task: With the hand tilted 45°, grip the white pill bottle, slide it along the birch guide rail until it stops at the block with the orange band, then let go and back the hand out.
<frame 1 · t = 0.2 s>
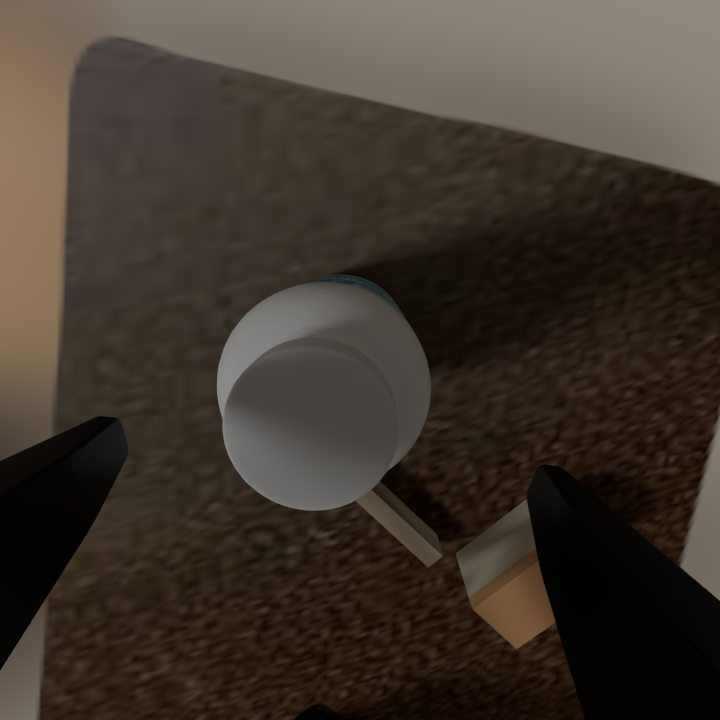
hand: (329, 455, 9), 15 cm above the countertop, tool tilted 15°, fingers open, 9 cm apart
guide rail: (358, 472, 26), on the countertop
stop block: (520, 537, 27), on the countertop
pill bottle: (342, 336, 24), on the countertop
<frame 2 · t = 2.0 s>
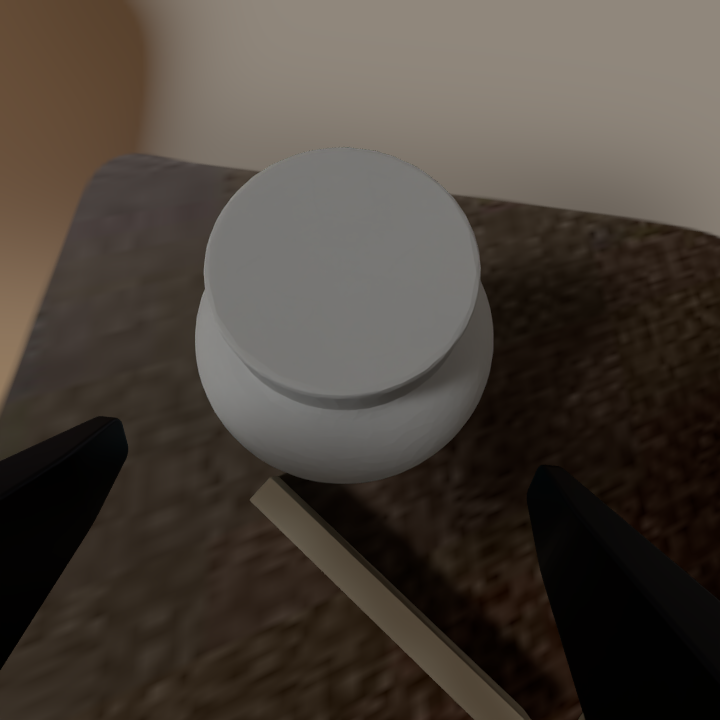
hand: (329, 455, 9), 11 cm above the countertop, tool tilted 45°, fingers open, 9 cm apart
guide rail: (384, 596, 17), on the countertop
pill bottle: (347, 398, 20), on the countertop
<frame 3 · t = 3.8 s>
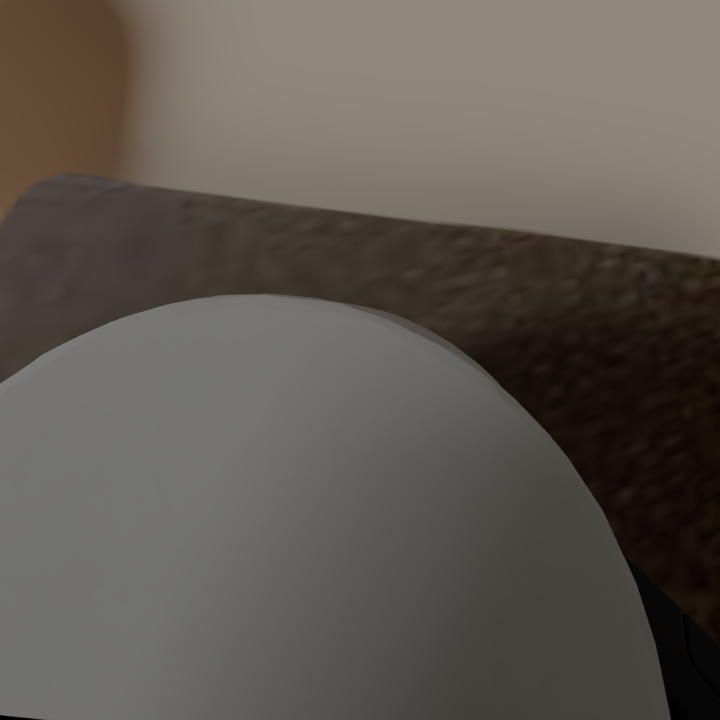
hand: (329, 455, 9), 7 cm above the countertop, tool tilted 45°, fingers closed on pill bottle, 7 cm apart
pill bottle: (334, 497, 15), on the countertop, touching gripper
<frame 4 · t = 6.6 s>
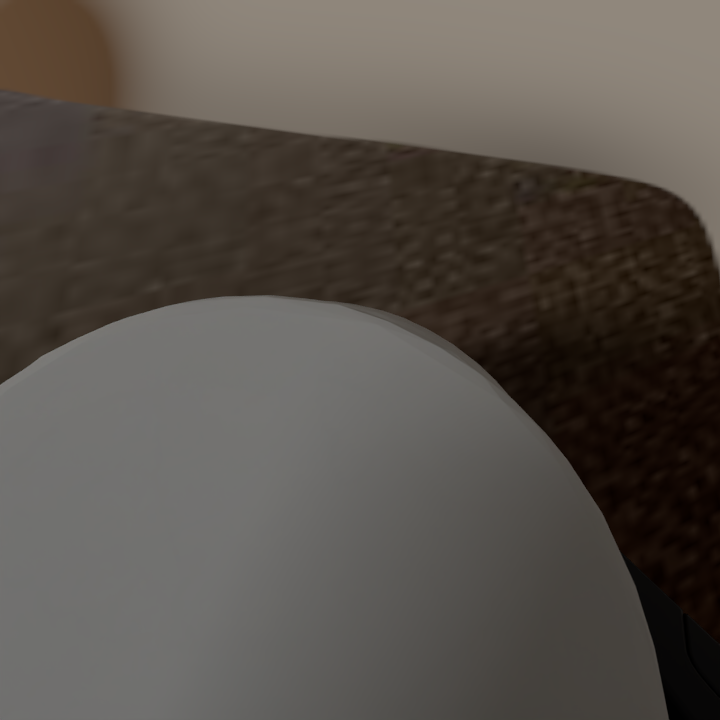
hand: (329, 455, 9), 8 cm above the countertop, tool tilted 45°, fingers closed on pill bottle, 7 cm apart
pill bottle: (333, 495, 15), on the countertop, touching gripper
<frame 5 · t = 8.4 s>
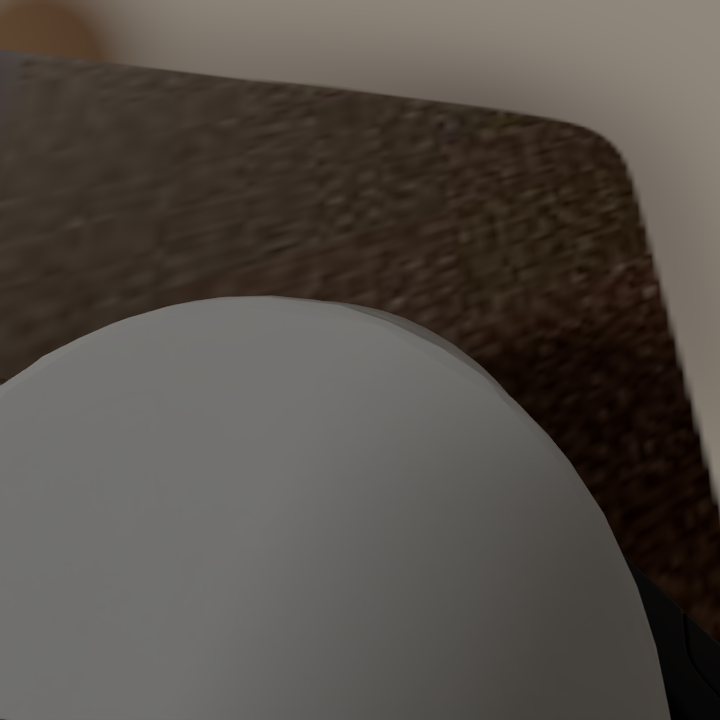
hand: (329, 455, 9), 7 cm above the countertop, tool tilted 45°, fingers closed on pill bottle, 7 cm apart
pill bottle: (334, 496, 15), on the countertop, touching gripper
when the fingers open (7 cm above the countertop, at t = 9.4 s): pill bottle stays where it is, on the countertop.
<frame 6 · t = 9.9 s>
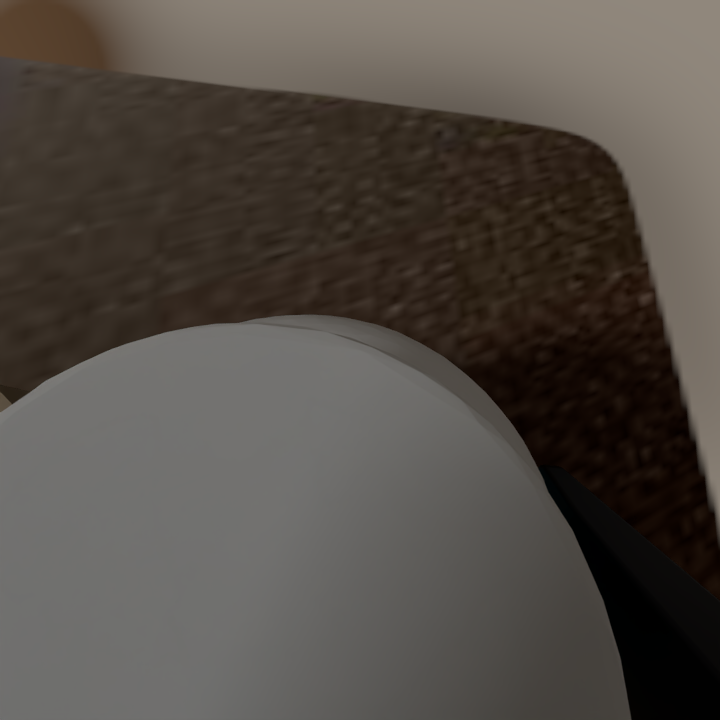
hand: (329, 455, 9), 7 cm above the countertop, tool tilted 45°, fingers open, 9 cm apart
guide rail: (140, 527, 15), on the countertop
pill bottle: (332, 501, 15), on the countertop
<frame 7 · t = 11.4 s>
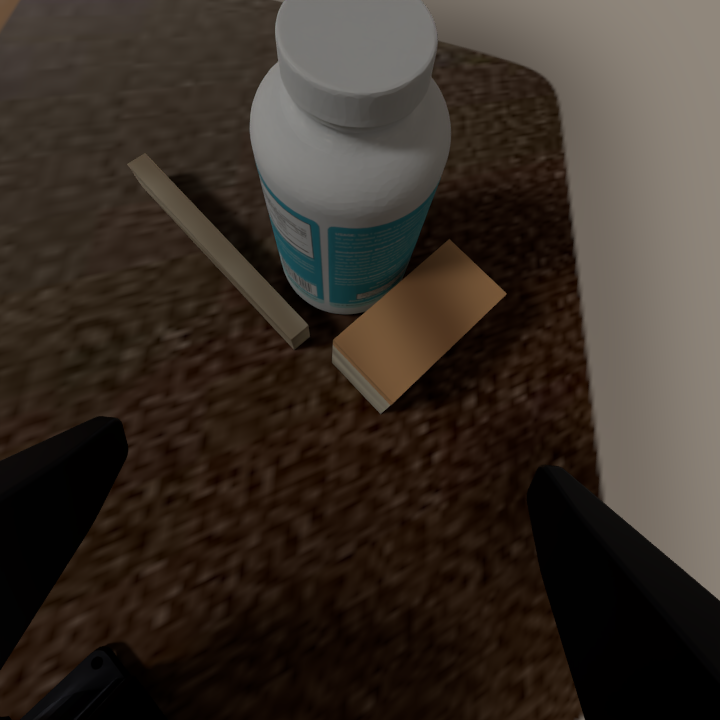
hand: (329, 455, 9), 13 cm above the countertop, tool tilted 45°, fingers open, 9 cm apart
guide rail: (223, 259, 24), on the countertop
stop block: (405, 342, 23), on the countertop
pill bottle: (343, 263, 24), on the countertop
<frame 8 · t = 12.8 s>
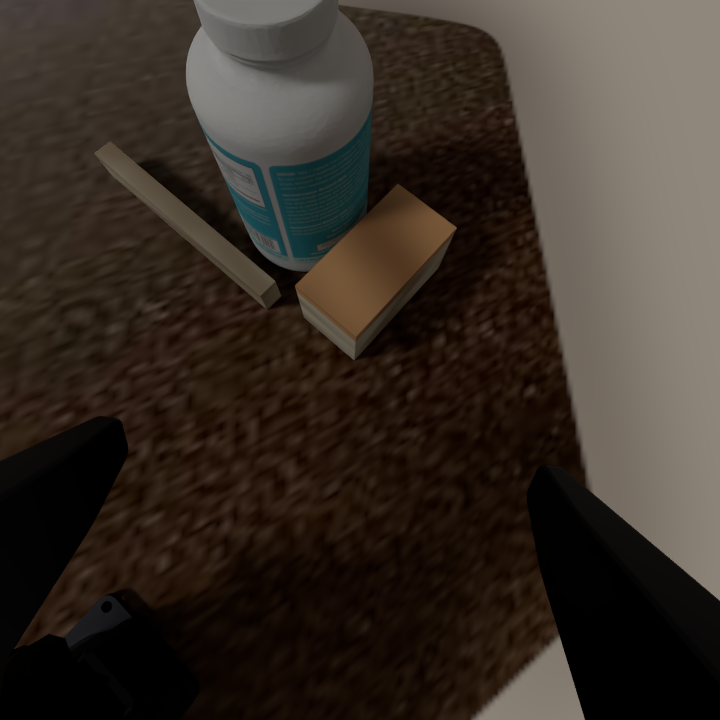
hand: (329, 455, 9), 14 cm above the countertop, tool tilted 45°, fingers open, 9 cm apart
guide rail: (194, 234, 25), on the countertop
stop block: (372, 292, 24), on the countertop
pill bottle: (307, 226, 26), on the countertop
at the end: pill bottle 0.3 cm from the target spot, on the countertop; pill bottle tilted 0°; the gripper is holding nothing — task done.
